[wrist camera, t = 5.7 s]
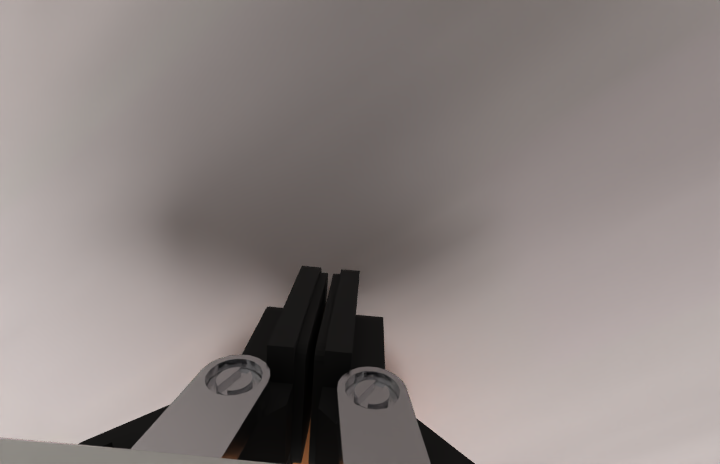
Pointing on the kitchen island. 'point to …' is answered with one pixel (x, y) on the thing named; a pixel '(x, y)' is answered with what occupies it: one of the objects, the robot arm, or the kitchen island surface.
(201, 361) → the kitchen island surface
